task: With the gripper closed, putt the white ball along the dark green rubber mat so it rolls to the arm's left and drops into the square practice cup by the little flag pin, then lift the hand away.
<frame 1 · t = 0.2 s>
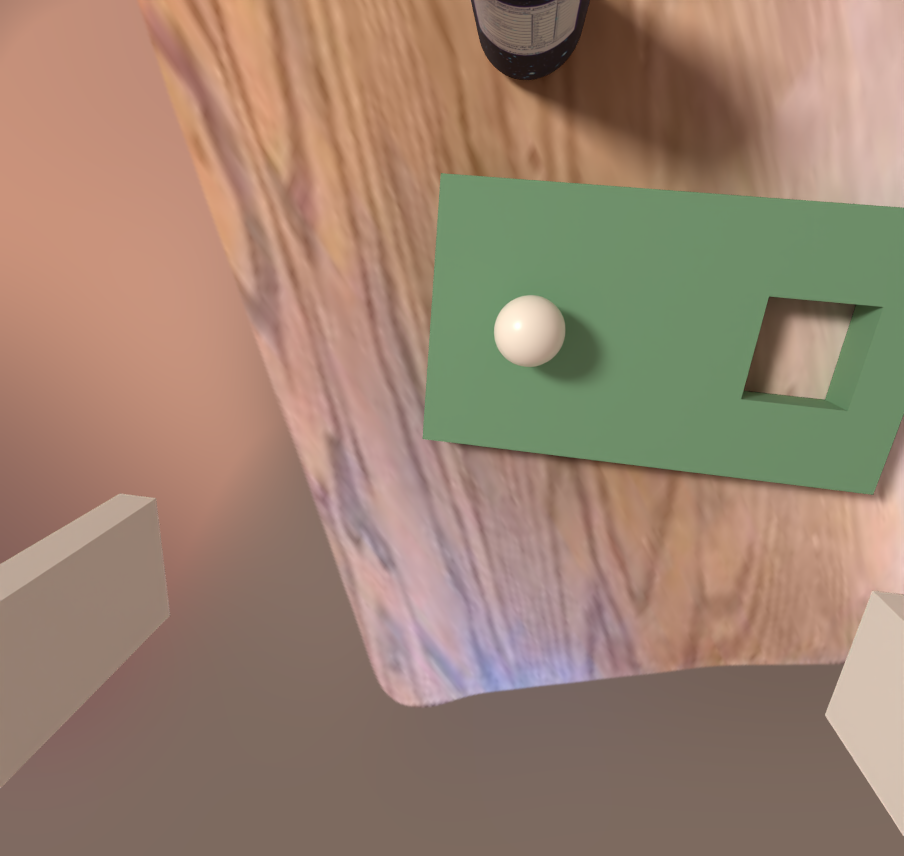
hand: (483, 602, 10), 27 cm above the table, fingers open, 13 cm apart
beverage can: (530, 26, 29), on the table
ball: (529, 326, 32), point 2 cm above the table, touching putting mat
putting mat: (655, 334, 33), on the table
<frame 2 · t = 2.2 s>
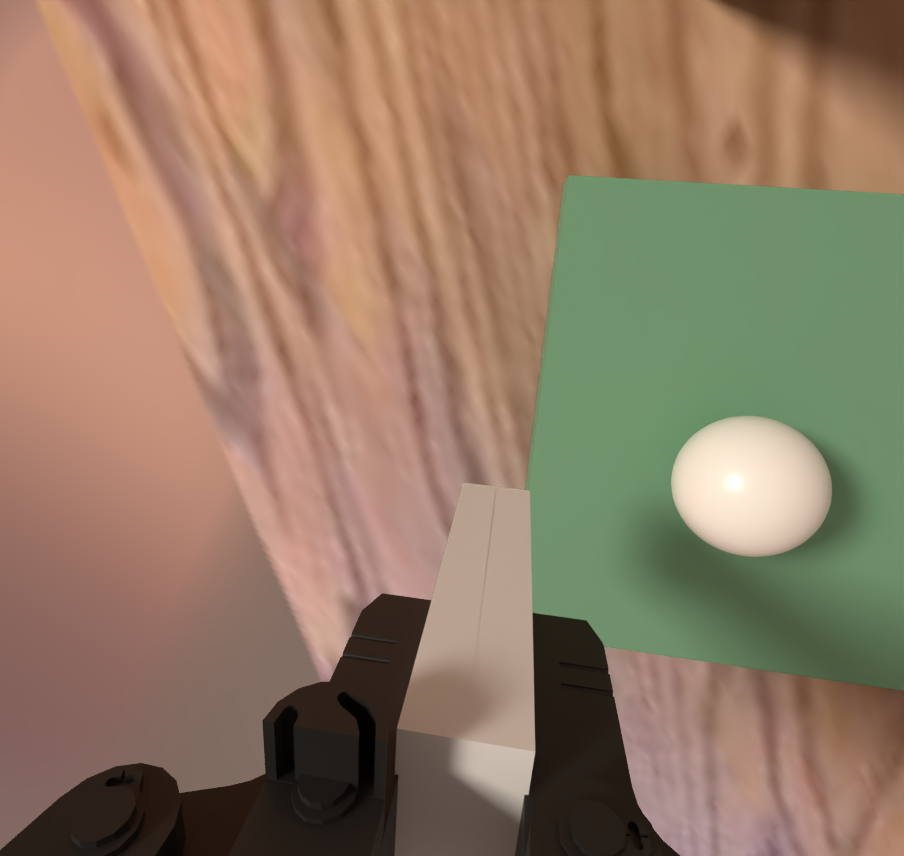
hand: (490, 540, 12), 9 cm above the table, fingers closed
ball: (722, 458, 17), point 2 cm above the table, touching putting mat
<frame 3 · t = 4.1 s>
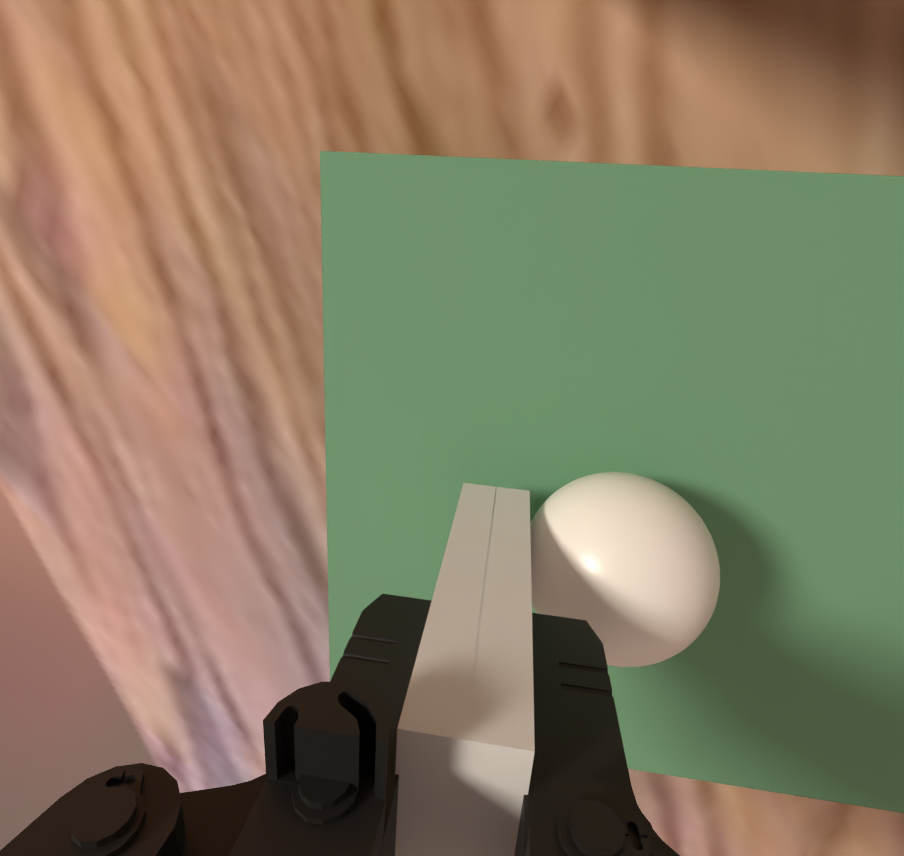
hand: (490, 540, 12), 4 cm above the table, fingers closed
ball: (560, 520, 13), point 3 cm above the table, tilted 32°, touching putting mat
putting mat: (839, 505, 15), on the table
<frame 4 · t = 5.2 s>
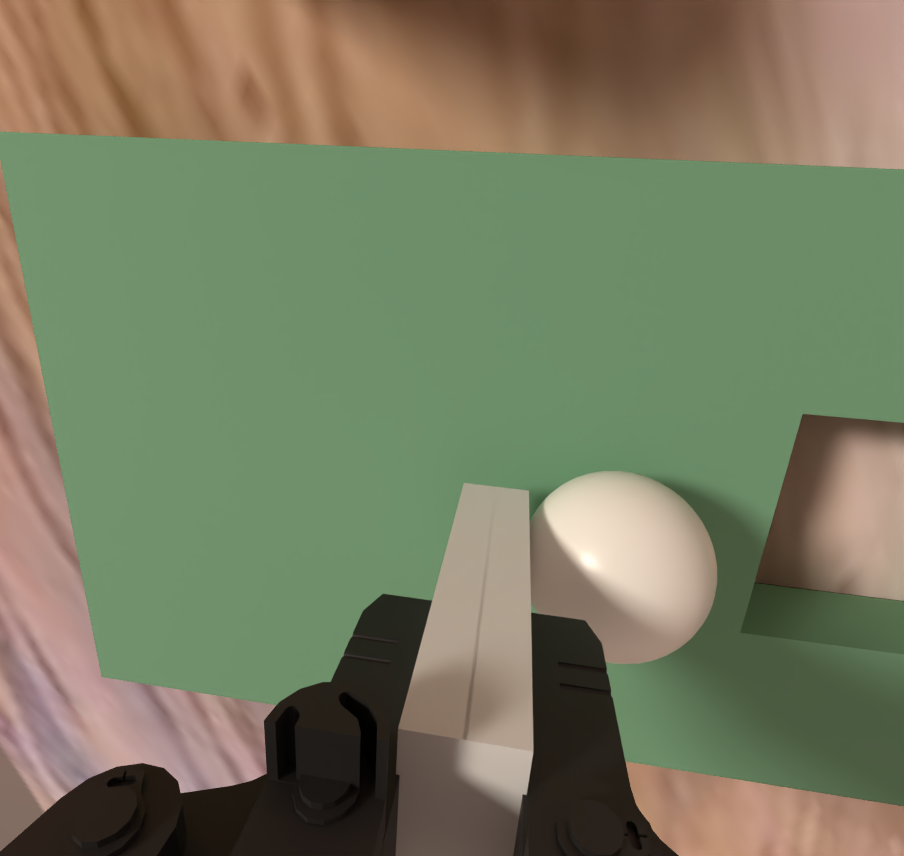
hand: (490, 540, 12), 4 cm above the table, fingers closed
ball: (706, 610, 10), point 6 cm above the table, tilted 131°, touching gripper, putting mat
putting mat: (555, 469, 16), on the table
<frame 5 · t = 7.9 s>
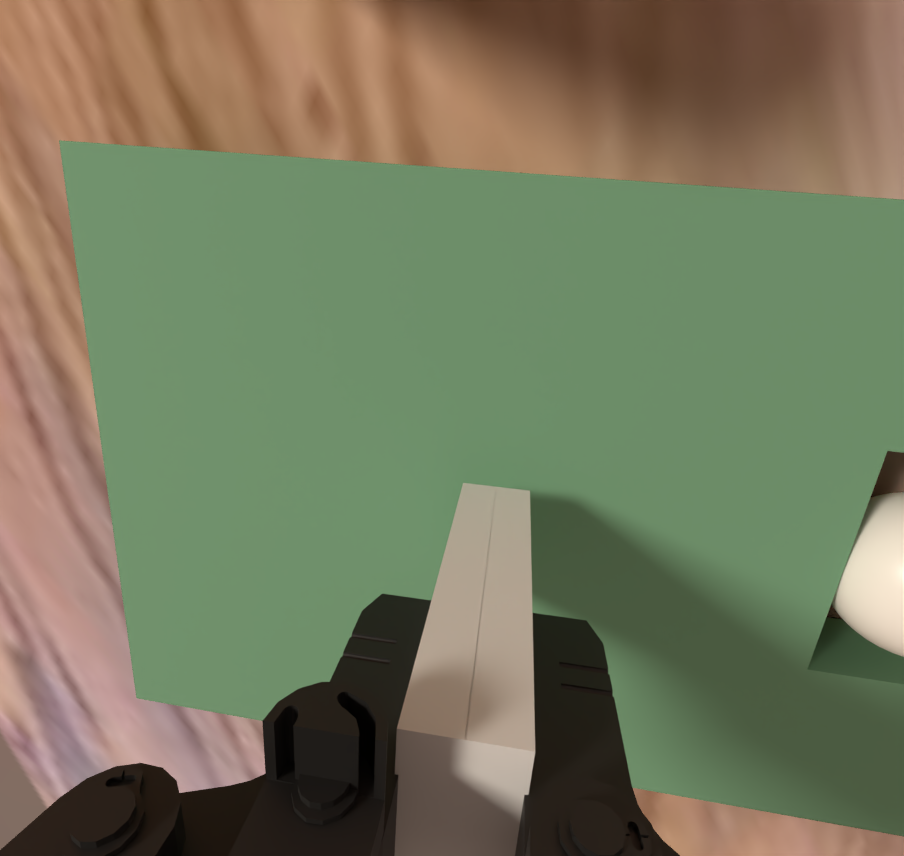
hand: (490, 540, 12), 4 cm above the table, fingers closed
ball: (821, 542, 14), point 1 cm above the table, tilted 58°
putting mat: (613, 496, 15), on the table
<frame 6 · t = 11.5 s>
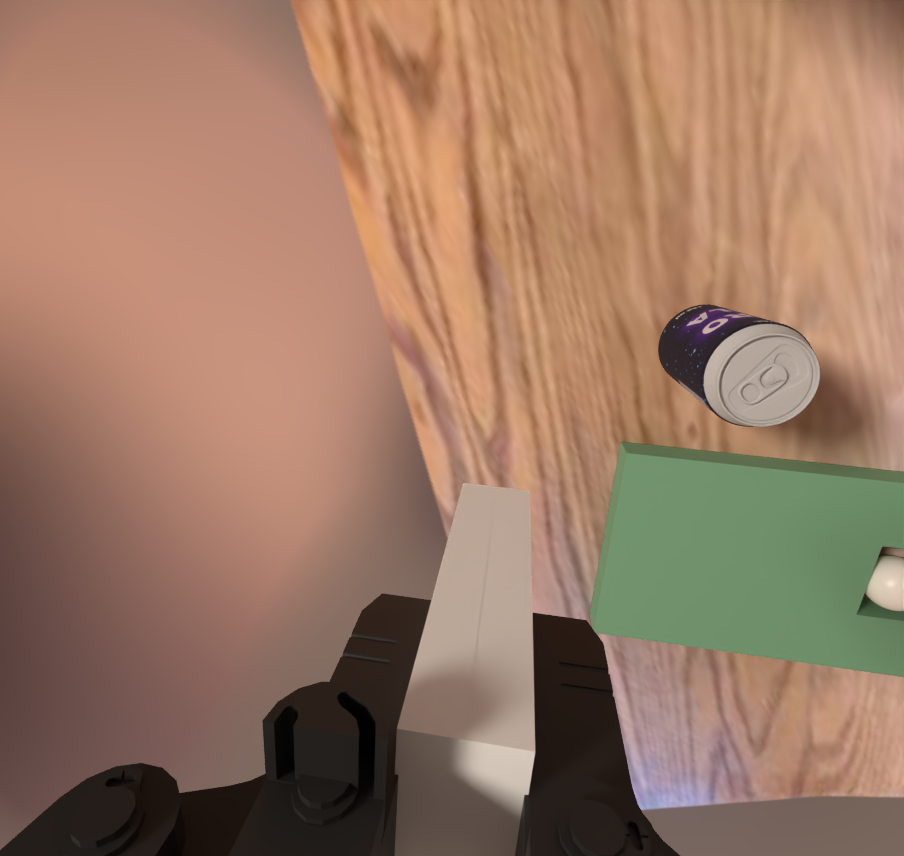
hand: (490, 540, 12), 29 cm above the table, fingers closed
beverage can: (695, 343, 38), on the table
ball: (860, 572, 41), point 1 cm above the table, tilted 60°
putting mat: (782, 554, 42), on the table
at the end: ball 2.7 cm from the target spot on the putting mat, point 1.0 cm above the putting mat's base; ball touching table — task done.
